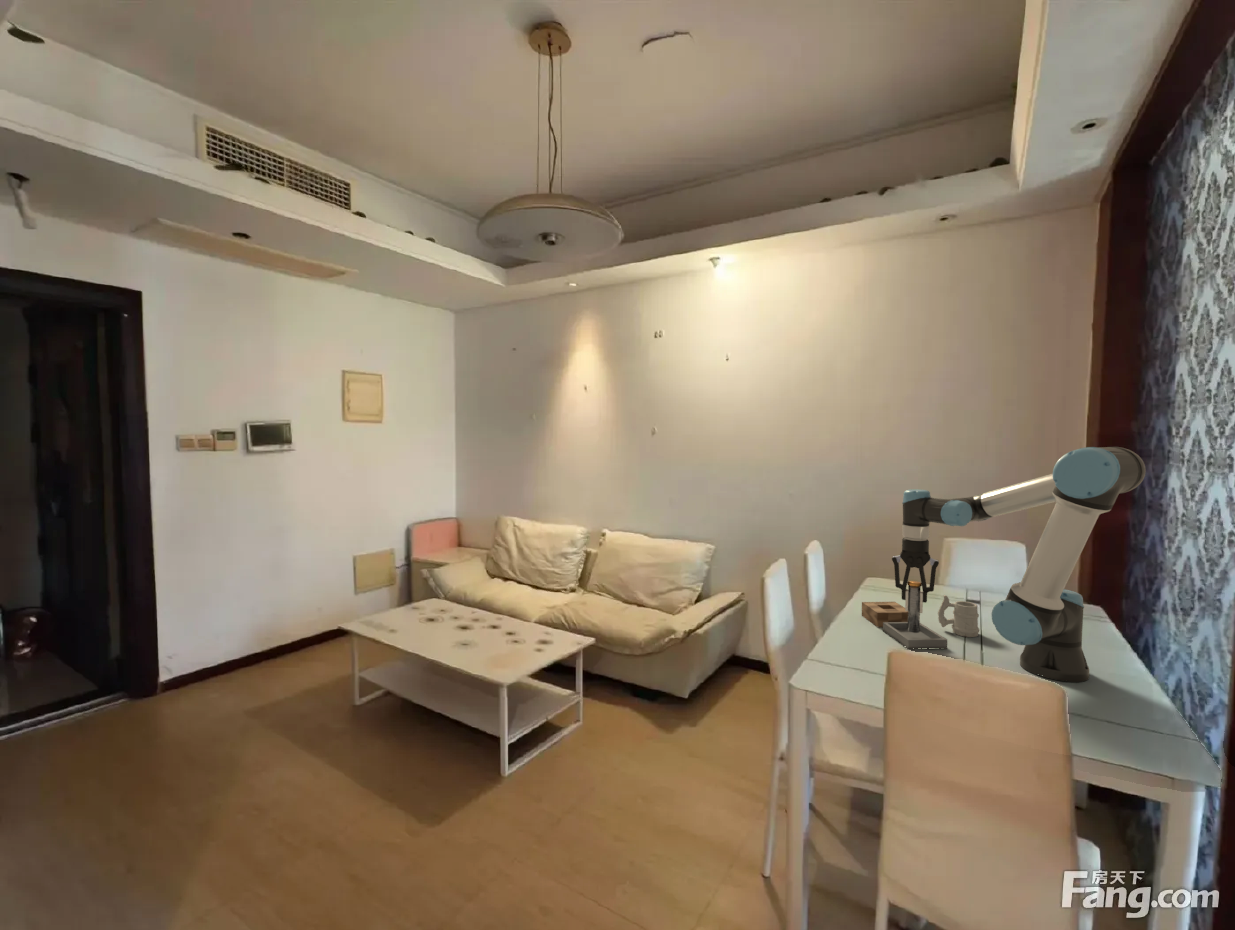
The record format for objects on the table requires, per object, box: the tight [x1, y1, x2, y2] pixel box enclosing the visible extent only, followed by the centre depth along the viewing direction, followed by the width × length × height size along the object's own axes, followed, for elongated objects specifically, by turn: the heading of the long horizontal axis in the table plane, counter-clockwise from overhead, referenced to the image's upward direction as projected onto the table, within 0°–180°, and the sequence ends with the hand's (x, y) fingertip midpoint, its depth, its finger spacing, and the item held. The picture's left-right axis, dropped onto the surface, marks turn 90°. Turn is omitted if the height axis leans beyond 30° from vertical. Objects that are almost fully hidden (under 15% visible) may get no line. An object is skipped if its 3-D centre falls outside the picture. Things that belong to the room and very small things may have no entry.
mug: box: [937, 594, 980, 638], centre depth 184 cm, size 8×12×12 cm, turn 62°
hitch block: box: [861, 601, 908, 628], centre depth 196 cm, size 12×12×5 cm
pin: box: [907, 580, 922, 633], centre depth 178 cm, size 4×4×16 cm
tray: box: [882, 622, 948, 651], centre depth 178 cm, size 16×12×3 cm
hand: (913, 610), depth 178 cm, fingers closed on pin, 3 cm apart
